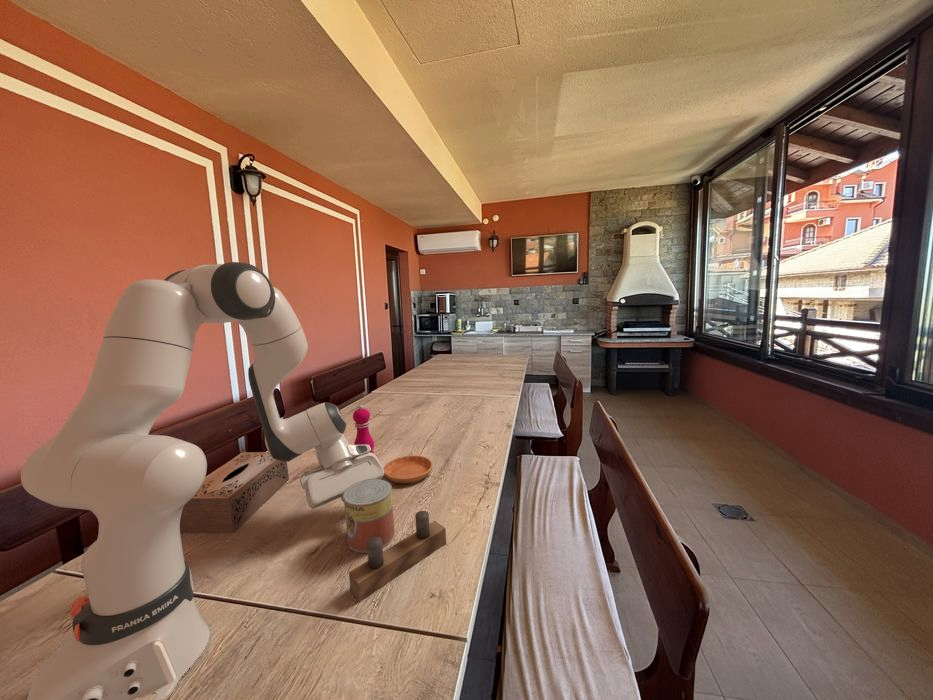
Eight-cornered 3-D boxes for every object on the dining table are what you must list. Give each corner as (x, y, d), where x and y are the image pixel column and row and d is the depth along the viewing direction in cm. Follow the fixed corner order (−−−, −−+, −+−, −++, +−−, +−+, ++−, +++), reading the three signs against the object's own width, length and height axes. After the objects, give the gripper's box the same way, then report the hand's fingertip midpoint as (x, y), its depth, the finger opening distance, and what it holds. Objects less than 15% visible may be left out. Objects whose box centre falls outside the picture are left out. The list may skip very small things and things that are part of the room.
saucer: (381, 468, 121) (380, 460, 120) (426, 459, 126) (425, 451, 126) (387, 492, 106) (387, 483, 105) (438, 480, 111) (438, 472, 111)
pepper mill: (369, 462, 125) (365, 408, 121) (350, 461, 126) (346, 407, 123) (378, 453, 132) (374, 402, 128) (360, 452, 133) (356, 401, 130)
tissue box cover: (233, 534, 89) (227, 498, 87) (179, 534, 90) (172, 498, 88) (289, 480, 114) (285, 451, 113) (246, 481, 115) (242, 452, 114)
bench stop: (360, 601, 68) (356, 560, 66) (350, 589, 71) (346, 549, 69) (446, 543, 83) (444, 508, 81) (435, 535, 86) (433, 501, 84)
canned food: (340, 535, 87) (335, 490, 85) (381, 515, 94) (377, 474, 92) (360, 560, 78) (355, 511, 76) (403, 536, 86) (400, 490, 84)
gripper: (299, 469, 86) (319, 523, 81) (374, 442, 100) (395, 487, 95) (295, 479, 90) (314, 531, 85) (367, 452, 104) (387, 496, 99)
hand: (357, 507), depth 90 cm, fingers closed, pressing on canned food
